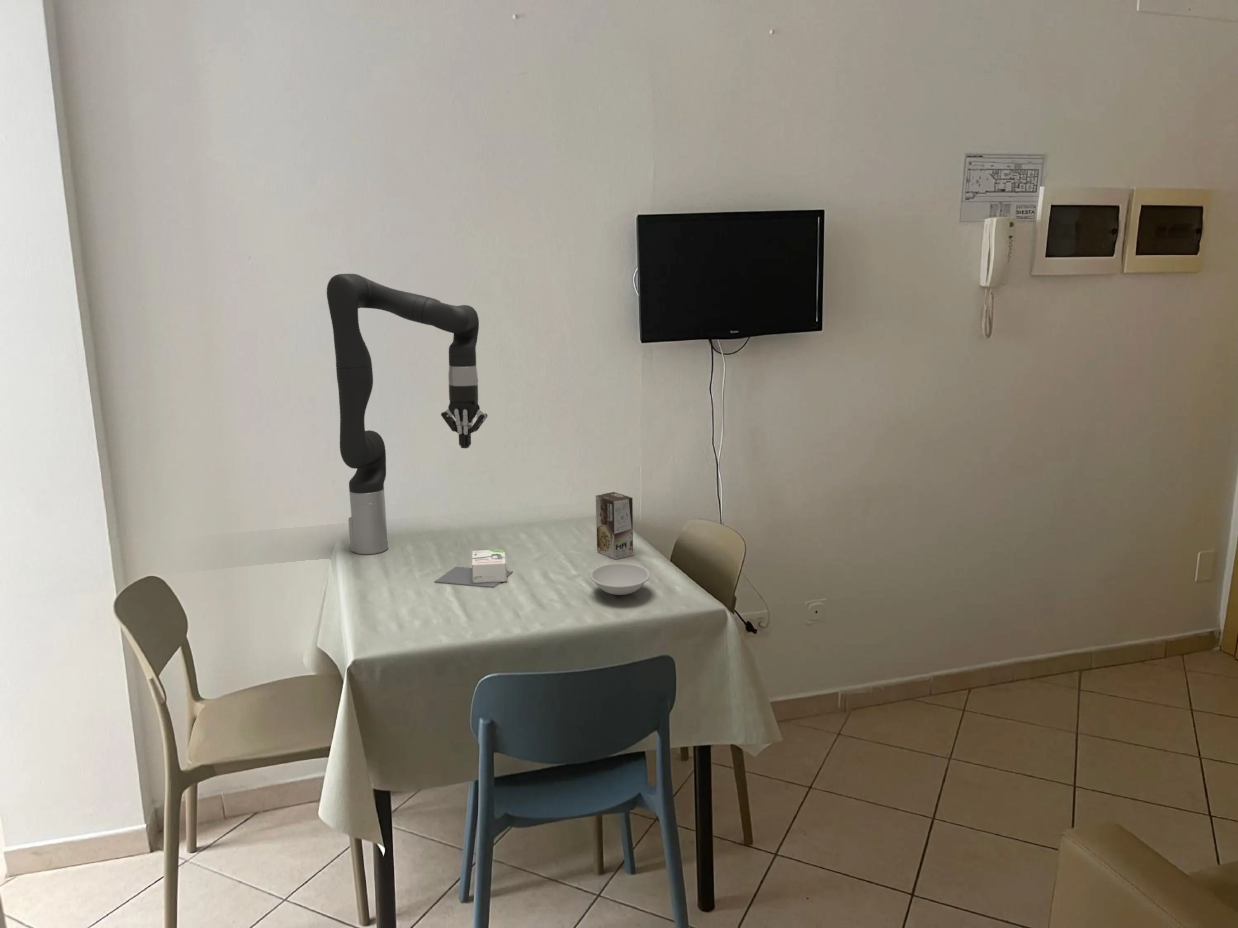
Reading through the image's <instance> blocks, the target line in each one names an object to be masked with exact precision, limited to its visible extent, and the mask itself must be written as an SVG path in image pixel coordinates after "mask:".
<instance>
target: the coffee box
mask: <svg viewBox="0 0 1238 928" xmlns="http://www.w3.org/2000/svg"><path fill="white" fill-rule="evenodd" d="M633 500H634V497H631V496H628V495H625V494H621V493H618V492H615V491H611V492H605V493H602V494H598V495H595V514H596V515H595V518H596V519H595V522H596V523H595V524H596V550H597V551H596V552H597V553H599V554H602V555H604V556H606V557H608V558H611V559H612V560H613V559H614V560H617V559H622V558H623V559H624V558H628V557H632V556H634V534H633V533H634V522H633V521H634V516H633V513H634V511H633V505H634V504H633Z"/></svg>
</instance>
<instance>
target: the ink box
mask: <svg viewBox="0 0 1238 928" xmlns="http://www.w3.org/2000/svg"><path fill="white" fill-rule="evenodd" d="M471 553H472V554H471V568H472V581H473V583H483V582H501V583H502V582H503V583H504V582H507V581H508V577H507V571H508V570H507V569H508V568H507V557H506V549H505V548H500V549H484V550H483V549H482V550H480V549H479V550H472V551H471Z"/></svg>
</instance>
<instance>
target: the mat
mask: <svg viewBox="0 0 1238 928" xmlns="http://www.w3.org/2000/svg"><path fill="white" fill-rule="evenodd" d="M512 574H513V570H507V578H508V577H509V576H511V575H512ZM434 583H435V584H445V585H446V584H447V585H457V586H458V585H460V586H468V587H479V588H491V589H495V588H496V587H497V586H498V585H499V584H500V583H502V582H483V583H473V581H472V567H464V566H455V567H453V568H451V569H450V570H449V571H447V572H446V573H444V574H443V575H442V576H440V577H438V578H437V579H436V580H434Z"/></svg>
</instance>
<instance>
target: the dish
mask: <svg viewBox="0 0 1238 928" xmlns="http://www.w3.org/2000/svg"><path fill="white" fill-rule="evenodd" d="M588 575H589V579H590V581H592V582H593V583H594V584H595V585H596V586H597V587H598V588H600V590H602V591H603V592H606V593H607V594H610V595H616V596H623V595H630V594H632V593H634V592H636V591H638V590H639V589H641V588H642V587H643V585H644V584H645V583H646V582H648V581H649V580H650V577H651V573H650V571H649V570H648V569H647V568H646V567H645V566H642V565H639V564H635V563H631V562H611V563H610V562H609V563H604V564H601V565H598V566H596V567H594V568H592V569H591V571H589V574H588Z"/></svg>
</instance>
